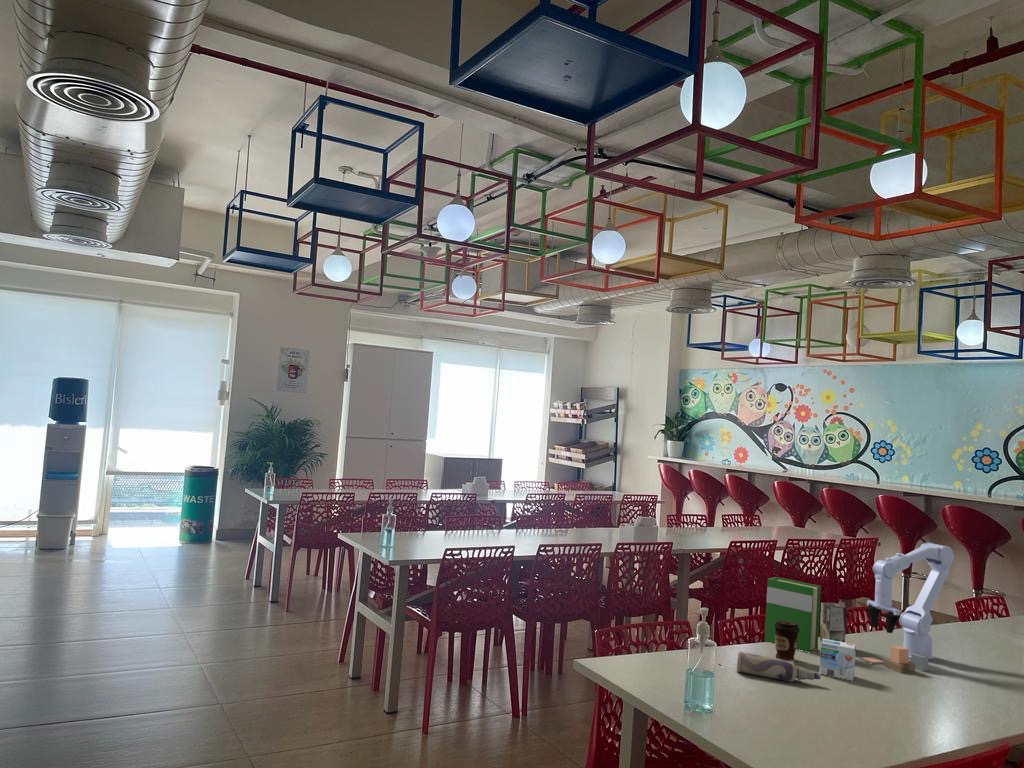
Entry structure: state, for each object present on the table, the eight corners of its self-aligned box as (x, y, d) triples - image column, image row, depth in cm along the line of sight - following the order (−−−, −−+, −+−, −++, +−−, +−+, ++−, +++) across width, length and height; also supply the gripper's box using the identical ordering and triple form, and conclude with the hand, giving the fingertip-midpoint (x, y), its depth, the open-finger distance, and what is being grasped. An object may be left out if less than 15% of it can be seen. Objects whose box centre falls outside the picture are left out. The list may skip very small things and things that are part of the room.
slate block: (916, 666, 263) (917, 652, 263) (927, 670, 260) (928, 656, 260) (910, 668, 261) (911, 654, 261) (922, 671, 257) (923, 657, 258)
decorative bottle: (735, 674, 238) (736, 654, 239) (737, 668, 245) (738, 648, 246) (820, 690, 229) (821, 669, 229) (819, 683, 236) (820, 662, 236)
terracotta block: (899, 660, 260) (900, 645, 261) (908, 663, 257) (908, 649, 257) (890, 660, 259) (890, 645, 260) (898, 663, 256) (899, 649, 256)
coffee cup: (785, 663, 254) (787, 626, 255) (767, 656, 262) (769, 619, 262) (802, 661, 258) (804, 624, 259) (784, 654, 266) (786, 618, 266)
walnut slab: (897, 666, 263) (897, 658, 263) (914, 673, 256) (915, 664, 256) (883, 667, 260) (883, 659, 260) (900, 674, 254) (900, 665, 254)
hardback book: (817, 650, 275) (820, 586, 277) (809, 653, 270) (812, 588, 272) (772, 638, 288) (775, 577, 289) (764, 641, 282) (767, 578, 284)
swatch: (873, 657, 270) (873, 656, 270) (888, 664, 263) (888, 662, 263) (858, 658, 268) (858, 656, 268) (871, 664, 262) (872, 662, 262)
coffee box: (845, 651, 277) (847, 608, 278) (828, 649, 277) (830, 606, 278) (835, 644, 286) (837, 602, 287) (818, 642, 286) (820, 601, 287)
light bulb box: (818, 674, 245) (820, 642, 246) (820, 669, 251) (821, 637, 252) (853, 681, 240) (855, 648, 241) (854, 676, 246) (856, 644, 247)
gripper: (860, 588, 280) (859, 624, 279) (889, 597, 266) (887, 635, 265) (876, 588, 282) (874, 624, 281) (905, 597, 268) (903, 635, 267)
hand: (882, 629), depth 273 cm, fingers open, 7 cm apart
